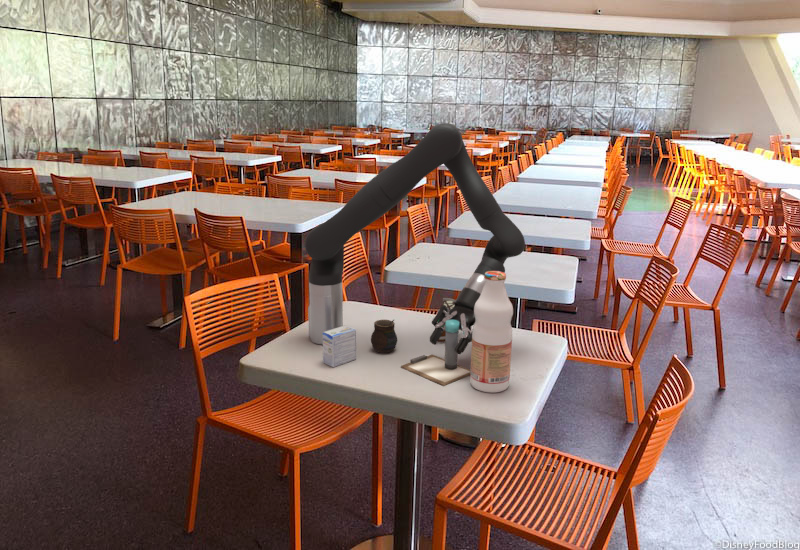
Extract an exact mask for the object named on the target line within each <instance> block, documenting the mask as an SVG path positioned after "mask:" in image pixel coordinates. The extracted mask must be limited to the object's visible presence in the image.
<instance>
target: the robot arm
mask: <svg viewBox="0 0 800 550" xmlns="http://www.w3.org/2000/svg"><path fill="white" fill-rule="evenodd" d="M442 165H444V166H445V167H446V169H447V170H448V171H449V173H450V175H451V176H452V177H453V179H454V181H455V182H456V185H457V187H458V188H459V190H460V193H461V195H462V197H463V199H464V201H465V203H466V205H467V207H468V209H469V210H470V212H471V214H472V216H473V217H474V219H475V220H476V222H477V224H478V226H479V227H480V228H481V229H482V230H485V231H489V232H490V233H491V234H492V237H491V238H490V239H489V240H488V242H487V243H486V245H485V248H484V251H483V254H482V257H481V261H480V262H479V264H478V265H477V267H476V269H475V270H474V272H473V274H472V275H471V276H470V277H469V278H468V280H467V281H466V283H465V285H463V286H464V287H463V288H462V289H461V291H460V293H459V294H458V296H457V298H456V299H455V300H456V301H455V306H454V307H453V308H452V309H449V308H447V307H446V306H445V305H443V306H442V307H441V306H440V307H441V309H440V308H439V309H440V310H439V312H438V311H437V312H438V313H437V314H435V317H434V318H433V319H432V320H431V324H432V325H433V327H434V330H433V331H432V333H431V335H430V336H429V342H430V343H431V344H432V345H433V346H434V345H437V344H438V342H437V341H438V340H439V338H440V337H441V335H442V332H444V331H445V326H446V321H447V320H451V319H453V320H457V321H459V331H461V332H462V337H461V338H460V339H459V340H458V344H457V346H456V348H455V352H456V353H457V354H458V355H461V354H463V353H464V351H466V348H467V347H468V345H469V343H472V331H473V326H474V323H475V315H474V306H475V303H476V301H477V300H478V299H479V297H480V295H481V292H482V290H483V288H484V285H485V282H486V281H485V278H484V276H485V273H486V272H488V271H500V272H504V273H505V274H506V267H505V266H504V264H505V262H506V260H507V259H509V258H515V257H517V256H520V255H522V253H524V250H525V248H526V247H525V246H526V241H525V236H524V235H523V233H522V231H521V230H520V228H518V226H517V225H516V224H515V223H514V222H513V221H512V220H511V219H510V218H509V217H508V216H507V215H506V214H505V213H504V212H503V210H502V208H501V207H500V205H499V203H498V202H497V200H496V198H495V196H494V195H493V193H492V192H491V190H490V188H489V187H488V186H487V183H485V181H484V179H483V178H482V177H481V175H480V174H479V172H478V171H477V169H476V166H475V165H474V163H473V161H472V159H471V157H470V155H469V153H468V150H467V148H466V145H465V143H464V140H463V135H462V133H461V131H460V129H459V128H458V127H457V126H455V125H454V124H452V123H448V122H444V123H438V124H437V125H434V126H433V127H431V129H430V130H429V131H428V132H427V134H426V135H425V136H424V137H423V138H422V139H420V141H419V142H418V143H417V144H416V145H414V147H413V148H412V149H411V150H410V151H409V152H408V153H406V154H405V155H403V157H401V158H400V159H398V160H397V161H395V162H393V163H392V164H390V165H389V166H386V168H384V169H383V170H381V171H380V172H378V174H376V175H375V176H374V177H373V178H371V179H370V180H369V181H368V182H367V183H366V184H365V185H364V186H362V187H361V188H360V189H359V190H358V191H357V192H356V193H355V194H354V195H353V196H352V197H351V198H350V199H349V200H348V201H347V202H346V204H345V205H344V206H343V207H342V208H341V209H340V210H339V211H338V212H337V213H335V214H334V215H332V216H331V217H330V218H328V219H327V220H326V221H325V222H322V223H319V224H318V225H315V227H313V228H311V230H310V231H309V232H308V234H307V235H306V237H305V241H304V249H305V251H306V254H307V256H309V257H310V258H311V263H310V269H309V272H308V288H309V289H308V291H309V292H308V293H309V305H308V307H307V314H308V315H307V318H308V320H307V321H308V338H309V339H310V341H311V342H312V343H313V344H316V345H323V332H325V331H329V330H332V329H335V328H338V327H342V326H344V324H343V323H344V313H343V311H344V309H343V307H344V305H343V304H344V302H343V299H344V298H343V273H344V268H345V266H344V265H345V262H344V261H345V244H346V243H348V241H350V240H351V239H352V237H354V236H355V235H356V234H358V233H359V232H360V231H362V230H363V229H365V228H366V227H368V226H370V225H371V224H373V223H374V222H375V221H377V220H378V219H380V218H381V217H382V216H384V215H385V214H386V213H388V212H389V211H390V210H392V209H393V208H394V207H395V206H397V204H399V203H400V202H401V201H402V200H403V199H404V198H406V197H407V196H408V195H409V194H410V193H411V191H413V190H414V188H415V187H416V186H417V185H418V184H419V183H420V182H421V181H422V180H423V179H424V178H426V177H427V176H428V175H429V174H431V173H432V172H433V171H434V170H436V169H437V168H439V167H441V166H442ZM438 320H439V321H438ZM437 321H438V322H437ZM444 325H445V326H444ZM442 326H443V327H442Z"/></svg>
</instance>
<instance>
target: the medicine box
mask: <svg viewBox="0 0 800 550" xmlns="http://www.w3.org/2000/svg"><path fill="white" fill-rule="evenodd" d="M356 359H357V329H355V328H354V327H352V326H348V325H343V326H342V327H338V328H335V329H332V330H329V331H325V332H323V344H322V362H323V363H324V364H326V365H327V366H329V367H331V368H336V367H338V366H341V365H344V364H347V363H349V362H352V361H354V360H356Z"/></svg>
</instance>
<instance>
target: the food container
mask: <svg viewBox="0 0 800 550" xmlns="http://www.w3.org/2000/svg"><path fill="white" fill-rule="evenodd" d="M455 301H456V299H453V298H449V297H443V298H442V303H441V305H440V307H439V309H437V313H438V312H439V310H440V309H441V307H442V306H443V305H445V306H446V307H447V308H449V309H452V308H453V307H454V306H455ZM438 321H439V320H438ZM438 321H437V322H438ZM444 326H445V325H444ZM442 327H443V326H442ZM445 338H446V330H445V331H444V332H442V335H441V337H440V338H439V340H438V341H437V343H445Z"/></svg>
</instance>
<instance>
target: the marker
mask: <svg viewBox="0 0 800 550" xmlns="http://www.w3.org/2000/svg"><path fill="white" fill-rule="evenodd" d="M445 330H446V338H445V342H444V350H445V351H444V359H445V368H446V369H448V370H454V369H456V368H457V365H458V356H459V354H457V353H456V352H455V348H456V346H457V344H458V343H459V331H460V329H459V321H457V320H453V319H451V320H447V321H446V326H445Z"/></svg>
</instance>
